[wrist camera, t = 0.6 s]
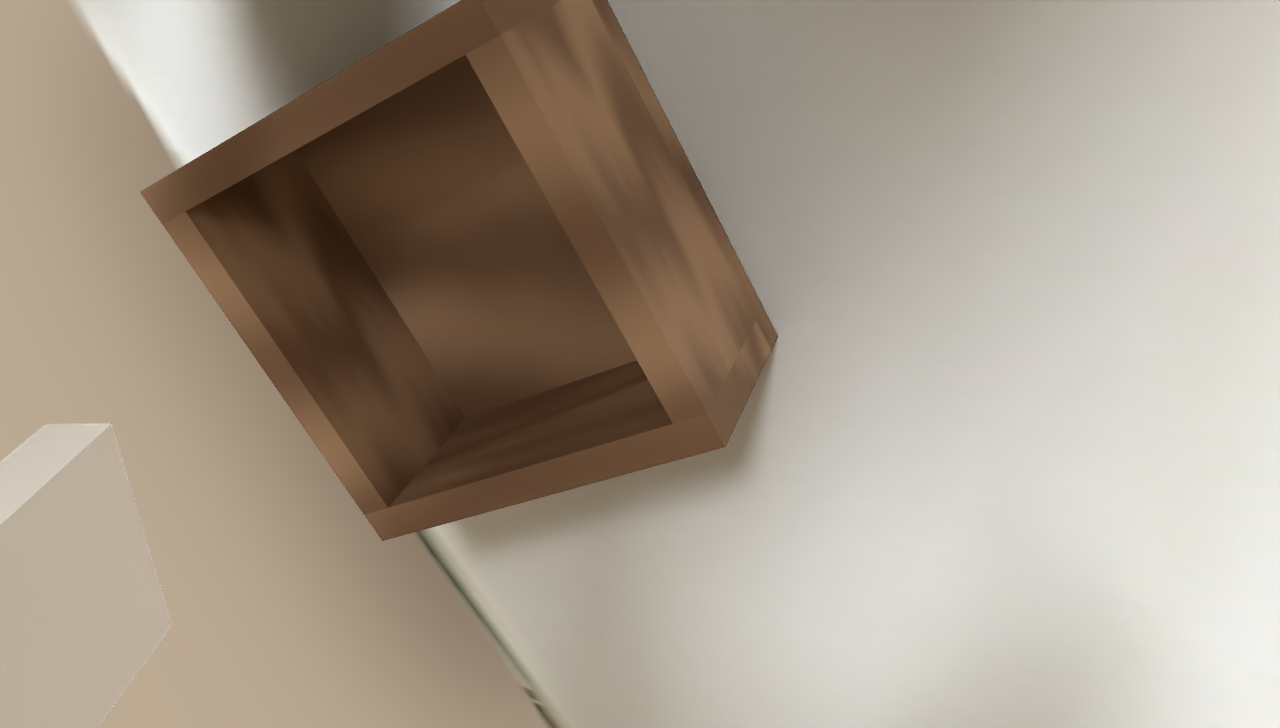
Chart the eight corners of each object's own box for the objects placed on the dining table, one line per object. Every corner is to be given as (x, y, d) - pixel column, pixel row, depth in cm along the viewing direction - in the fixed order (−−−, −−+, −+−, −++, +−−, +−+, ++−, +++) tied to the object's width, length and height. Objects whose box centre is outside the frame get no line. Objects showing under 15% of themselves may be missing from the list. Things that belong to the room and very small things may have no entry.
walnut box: (271, 124, 40) (139, 192, 35) (578, -56, 33) (476, -9, 28) (469, 435, 45) (382, 540, 39) (777, 335, 38) (725, 446, 32)
